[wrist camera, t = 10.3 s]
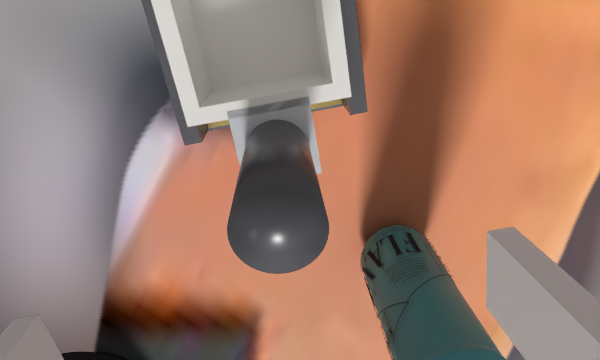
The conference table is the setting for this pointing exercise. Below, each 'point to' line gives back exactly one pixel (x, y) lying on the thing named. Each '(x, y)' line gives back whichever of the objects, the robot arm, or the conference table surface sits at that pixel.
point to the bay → (351, 104)
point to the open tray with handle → (263, 110)
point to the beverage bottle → (420, 300)
